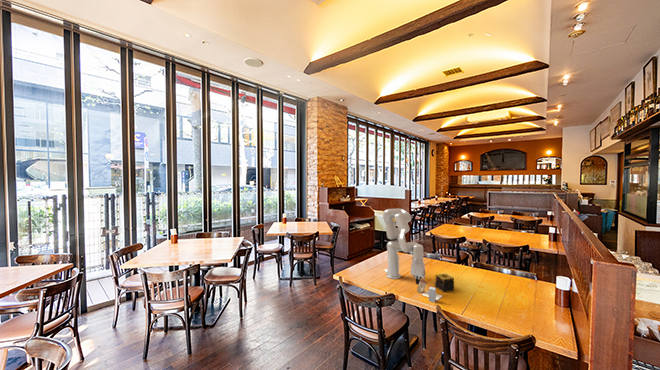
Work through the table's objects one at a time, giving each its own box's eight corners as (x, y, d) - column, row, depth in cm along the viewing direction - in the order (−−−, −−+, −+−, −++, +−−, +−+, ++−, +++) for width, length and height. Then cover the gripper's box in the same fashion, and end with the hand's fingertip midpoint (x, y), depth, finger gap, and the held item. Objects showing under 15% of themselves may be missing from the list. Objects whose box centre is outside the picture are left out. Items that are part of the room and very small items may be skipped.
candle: (443, 292, 198) (443, 279, 198) (434, 286, 208) (434, 274, 207) (454, 290, 201) (454, 277, 200) (445, 285, 210) (445, 273, 210)
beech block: (416, 290, 199) (420, 280, 196) (418, 288, 202) (422, 278, 199) (421, 293, 196) (424, 283, 194) (423, 291, 199) (427, 282, 196)
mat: (421, 295, 193) (421, 294, 193) (426, 291, 200) (426, 290, 200) (437, 300, 185) (437, 300, 185) (442, 296, 191) (442, 295, 191)
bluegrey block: (428, 301, 184) (428, 288, 184) (429, 298, 188) (429, 286, 187) (434, 302, 182) (434, 289, 182) (435, 300, 185) (435, 287, 185)
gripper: (406, 259, 202) (406, 282, 203) (425, 264, 191) (424, 288, 192) (411, 257, 207) (411, 279, 208) (429, 261, 196) (429, 285, 197)
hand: (418, 283), depth 200 cm, fingers closed
